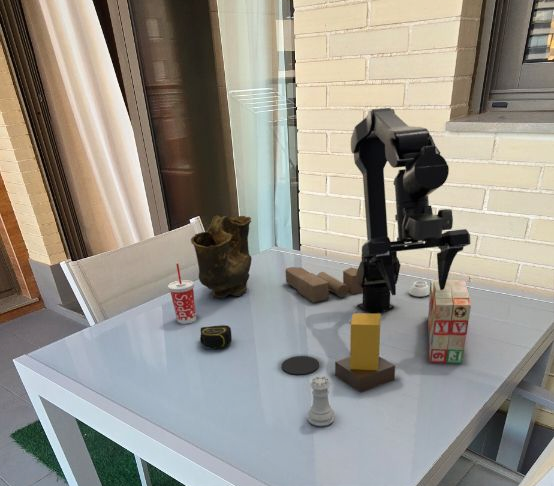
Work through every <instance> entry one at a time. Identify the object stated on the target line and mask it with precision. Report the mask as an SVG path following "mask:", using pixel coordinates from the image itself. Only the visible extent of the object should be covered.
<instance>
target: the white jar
mask: <svg viewBox="0 0 554 486" xmlns="http://www.w3.org/2000/svg"><path fill="white" fill-rule="evenodd" d="M409 294H410V295H411V296H413V297H417V298H420V297H421V298H422V297H426V296H430V286H429V285H428V282H427V281H425V280H416V281H414V282H413V285H411V287H410V289H409Z"/></svg>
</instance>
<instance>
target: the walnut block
mask: <svg viewBox="0 0 554 486" xmlns="http://www.w3.org/2000/svg"><path fill="white" fill-rule="evenodd" d="M334 376H335V377H337V378H338V379H340V380H341V381H343V382H344V383H346V384H347V385H349V386H350V387H351V388H353V389H355V391H358V392H359V393H363V392H366V391H368V390H371V389H373V388H376V387H379V386H382V385H384V384H386V383H388V382H389V383H390V382H392V381H394V380H395V379H396V365H395V364H394V363H391V362H390V361H388V360H386V359H385V358H383V357H381V356H379V362H378V370H356V369H350V356H348V357H345V358H342V359H339V360H336V361H334Z"/></svg>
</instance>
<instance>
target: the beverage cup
mask: <svg viewBox="0 0 554 486" xmlns="http://www.w3.org/2000/svg"><path fill="white" fill-rule="evenodd" d="M175 266H176V271H177V275H178V276H177V277H178V280H175V281H173V282H170V283H169V284H168V285H167V288H168V291H169V293H170V296H171V300H172V305H173V308H174V313H175V316H176V320H177V323H179V324H182V325H186V324H187V325H188V324H191V323H194V322H196V321H197V312H196V302H195V293H194V292H195V291H194V288H195V283H194V281H192V280H189V279H188V280H187V279H182V276H181V271H180V266H179V263H178V262H176V263H175Z"/></svg>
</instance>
